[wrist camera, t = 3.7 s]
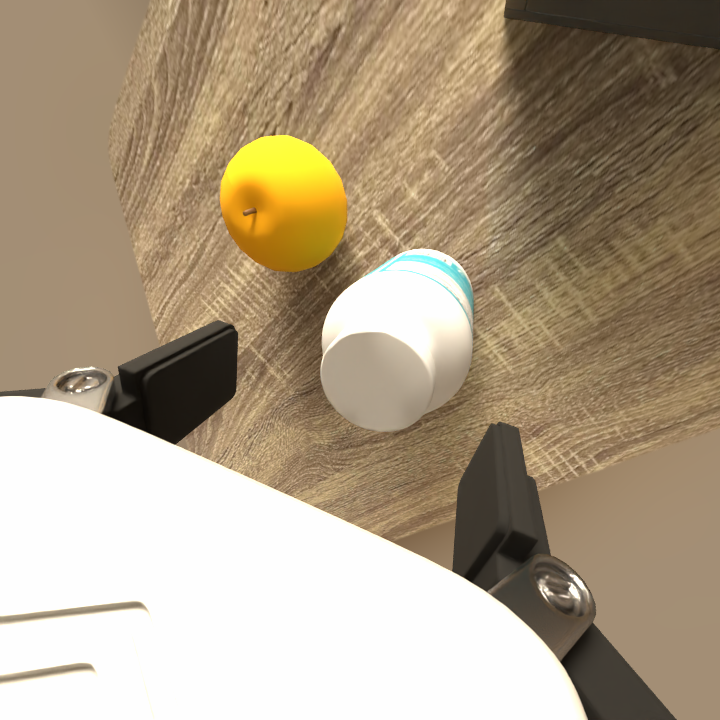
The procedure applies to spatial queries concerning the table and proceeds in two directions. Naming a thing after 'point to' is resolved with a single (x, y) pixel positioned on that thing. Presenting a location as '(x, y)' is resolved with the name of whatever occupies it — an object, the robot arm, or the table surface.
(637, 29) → the divided storage tray
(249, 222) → the apple
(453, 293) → the pill bottle
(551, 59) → the table surface
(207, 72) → the table surface
